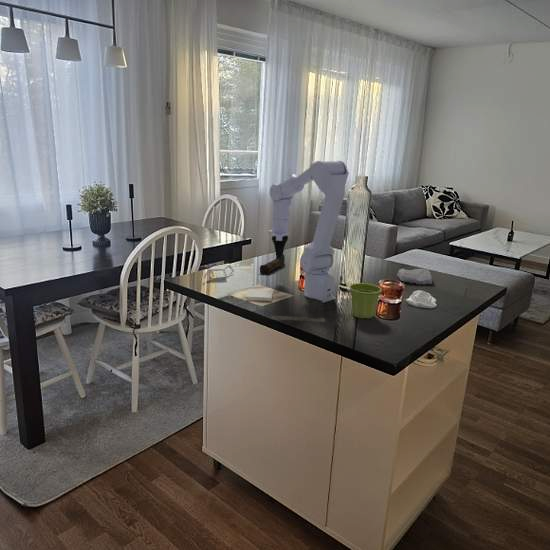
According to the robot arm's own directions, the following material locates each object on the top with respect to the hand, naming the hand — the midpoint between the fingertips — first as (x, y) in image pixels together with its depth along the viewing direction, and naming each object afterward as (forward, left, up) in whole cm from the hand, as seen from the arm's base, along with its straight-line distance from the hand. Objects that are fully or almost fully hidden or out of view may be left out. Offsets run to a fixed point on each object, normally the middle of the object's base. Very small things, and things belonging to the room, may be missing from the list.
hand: (279, 256), depth 172 cm
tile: (-7, +16, -8) cm, 19 cm away
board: (-8, +18, -9) cm, 21 cm away
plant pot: (-40, +6, -10) cm, 42 cm away
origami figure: (+15, +14, -10) cm, 23 cm away
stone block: (-33, -39, -10) cm, 52 cm away
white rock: (-47, -17, -10) cm, 51 cm away
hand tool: (+13, -11, -10) cm, 20 cm away
